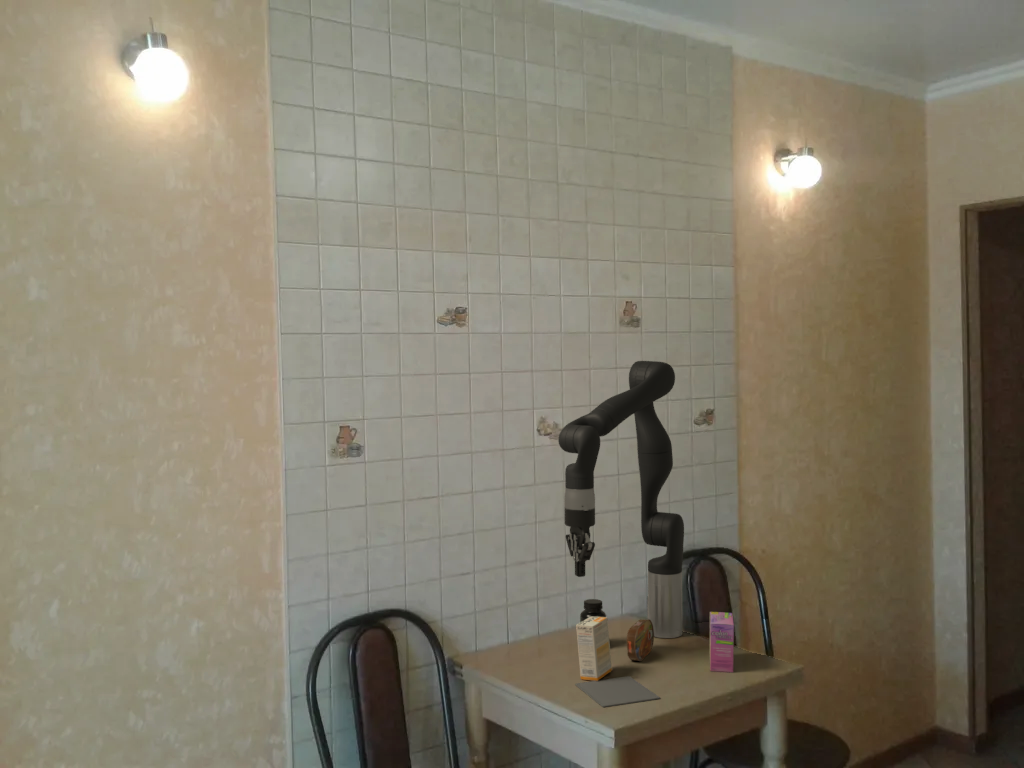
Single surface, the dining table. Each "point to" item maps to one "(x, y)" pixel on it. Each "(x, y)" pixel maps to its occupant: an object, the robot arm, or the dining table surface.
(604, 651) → the supplement box
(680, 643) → the dining table surface
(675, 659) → the dining table surface
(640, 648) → the tin
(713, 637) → the box
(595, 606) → the supplement bottle
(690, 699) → the dining table surface
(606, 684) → the mat
